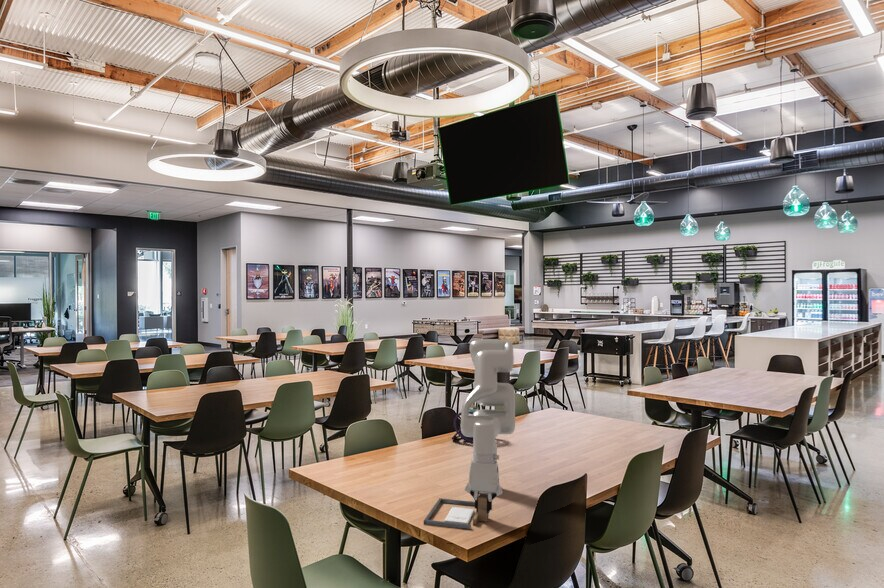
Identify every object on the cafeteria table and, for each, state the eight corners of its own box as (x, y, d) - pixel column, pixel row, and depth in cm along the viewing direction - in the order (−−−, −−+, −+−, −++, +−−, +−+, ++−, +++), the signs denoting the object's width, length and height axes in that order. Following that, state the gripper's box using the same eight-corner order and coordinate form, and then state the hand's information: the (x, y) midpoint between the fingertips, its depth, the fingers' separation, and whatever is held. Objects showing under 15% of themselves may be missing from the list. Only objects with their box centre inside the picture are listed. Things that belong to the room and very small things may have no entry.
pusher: (479, 511, 192) (479, 488, 192) (490, 512, 191) (490, 490, 191) (472, 525, 181) (473, 501, 181) (484, 526, 180) (484, 502, 180)
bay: (439, 501, 203) (439, 498, 203) (481, 505, 199) (481, 502, 199) (423, 524, 182) (423, 520, 182) (470, 529, 178) (470, 525, 178)
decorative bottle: (462, 434, 310) (462, 390, 311) (496, 438, 300) (496, 393, 301) (443, 442, 291) (444, 395, 291) (479, 447, 281) (480, 399, 281)
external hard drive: (474, 513, 193) (467, 527, 181) (451, 511, 195) (443, 524, 183) (474, 509, 193) (467, 522, 181) (451, 506, 195) (443, 519, 183)
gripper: (509, 456, 188) (508, 510, 188) (463, 452, 192) (462, 504, 192) (506, 462, 181) (505, 518, 180) (458, 458, 185) (457, 512, 184)
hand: (483, 510), depth 186 cm, fingers closed on pusher, 3 cm apart
